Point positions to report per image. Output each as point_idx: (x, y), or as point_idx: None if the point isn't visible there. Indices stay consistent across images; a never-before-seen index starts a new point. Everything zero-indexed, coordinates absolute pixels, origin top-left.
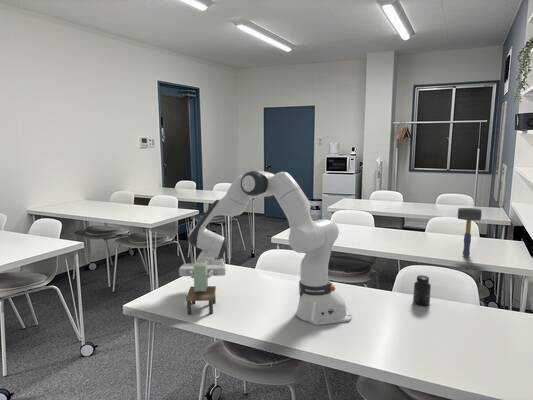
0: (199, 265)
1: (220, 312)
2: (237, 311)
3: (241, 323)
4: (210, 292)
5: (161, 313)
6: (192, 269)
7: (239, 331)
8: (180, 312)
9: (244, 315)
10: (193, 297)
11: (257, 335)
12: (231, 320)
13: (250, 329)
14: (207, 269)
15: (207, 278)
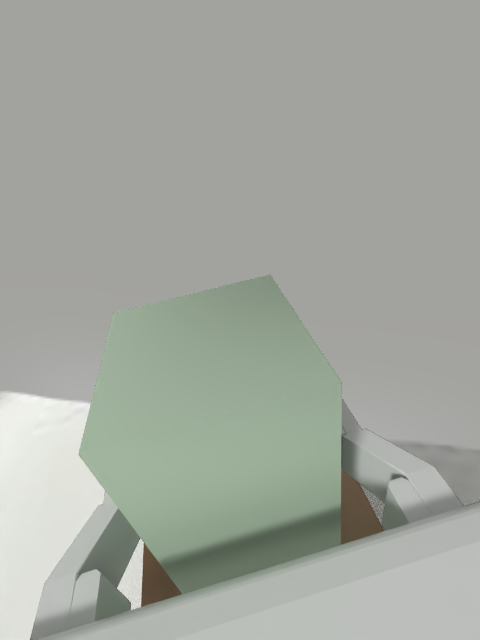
0: (201, 308)
1: (140, 561)
2: (30, 606)
3: (46, 466)
4: None
5: (476, 462)
6: (431, 514)
7: (68, 411)
8: (380, 501)
9: (5, 553)
10: None
11: (14, 405)
12: (86, 481)
13: (24, 432)
14: (145, 606)
15: (183, 589)
